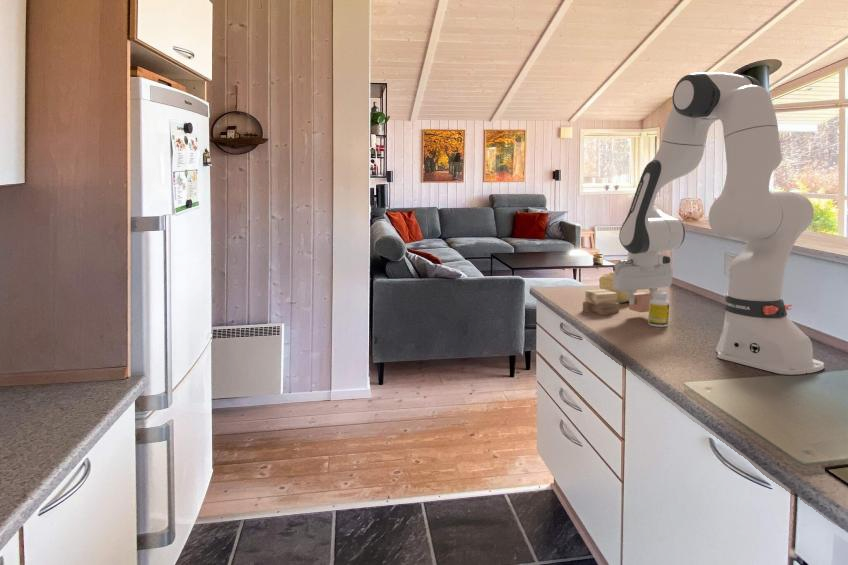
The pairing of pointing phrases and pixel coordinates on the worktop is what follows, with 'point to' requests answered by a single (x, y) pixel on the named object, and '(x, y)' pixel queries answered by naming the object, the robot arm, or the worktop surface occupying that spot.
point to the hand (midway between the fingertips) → (641, 303)
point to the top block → (601, 297)
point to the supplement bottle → (658, 309)
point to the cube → (641, 302)
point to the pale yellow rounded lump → (607, 285)
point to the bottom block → (600, 308)
